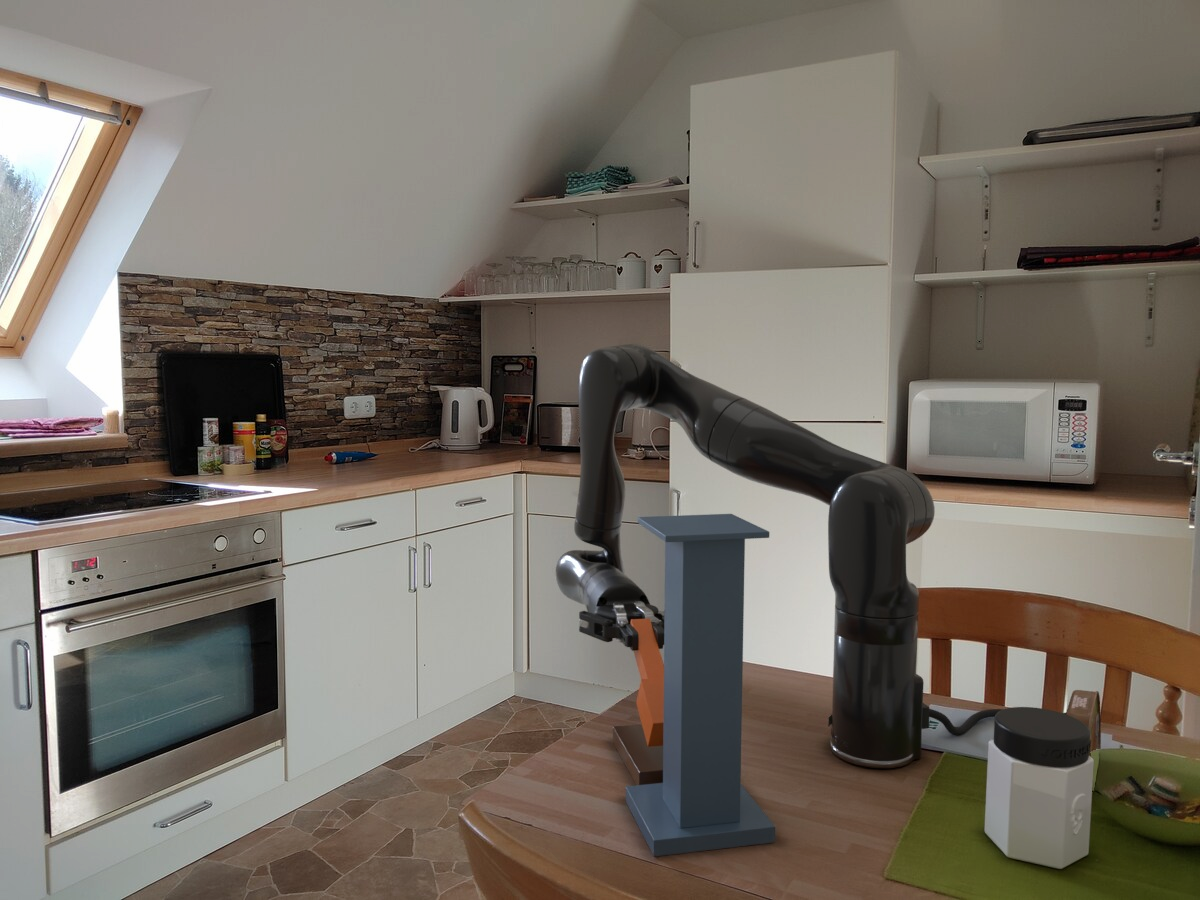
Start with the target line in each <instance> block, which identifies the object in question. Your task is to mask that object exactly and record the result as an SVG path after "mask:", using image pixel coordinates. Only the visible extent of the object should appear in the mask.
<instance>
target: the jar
mask: <svg viewBox="0 0 1200 900" xmlns="http://www.w3.org/2000/svg"><path fill="white" fill-rule="evenodd" d="M1002 709H1003V710H1001V711H999V712H998V713H997V714H996V715H995V717H994V721H993V722H994V723H993V724H994V725H993V739H990V740H989V741H988V746H987V747H988V749H987V765H986V785H985V786H986V788H985V789H986V790H985V808H984V809H985V810H984V828H983V829H984V834H986V836H987V837H988V838H989V839H990V840H991V841H992V842H993V843H994V845H996V847H997V848H998V849H999V850H1000V851H1001V852H1002V853H1003V854H1004V855H1005V856H1006V858H1009V859H1013V860H1016V861H1017V860H1018V861H1022V862H1026V863H1030V864H1036V865H1039V866H1044V867H1049V868H1053V869H1057V870H1063V869H1065V868H1066V867H1068V866H1070V865H1072V864H1074V863H1076V862H1077V861H1079V860H1081V859H1083V858H1084V857H1087V856H1088V855H1089V854H1090V853H1089V852H1090V836H1091V822H1092V821H1091V819H1092V805H1093V804H1092V803H1093V802H1092V801H1093V792H1092V788H1093V771H1094V759H1093V758H1092V757H1090V756H1089V752H1090V746H1091V740H1090V730H1089V728H1088V727H1087V726H1086V725H1085V724H1084V723H1083V722H1081V721H1080V720H1078V719H1076V718H1074V717H1072V716H1069V715H1066V714H1063V713H1064V712H1059V711H1056V710H1052V709H1048V708H1041V707H1033V706H1032V707H1031V706H1013V707H1008V708H1007V707H1006V708H1002Z"/></svg>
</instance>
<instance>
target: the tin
mask: <svg viewBox="0 0 1200 900" xmlns="http://www.w3.org/2000/svg"><path fill="white" fill-rule="evenodd" d="M1066 712H1067V713H1066ZM1066 712H1065V713H1066V715H1069V716H1072V717H1074V718H1076V719H1078V720H1080V721H1081V722H1083V723H1084V724H1085V725H1086V726H1087V727H1088V728H1089V730H1090V740H1091V746H1090V752H1091V751H1093V750H1096V749H1101V748H1102V737H1101V736H1102V725H1101V724H1102V718H1101V717H1102V716H1101V697H1100V692H1099V691H1098V690H1095V691H1090V690H1082V689H1075V690H1073V691H1072V693H1071V696H1070V699H1069V701H1068V705H1067V709H1066ZM1090 752H1089V756H1091V753H1090Z"/></svg>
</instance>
